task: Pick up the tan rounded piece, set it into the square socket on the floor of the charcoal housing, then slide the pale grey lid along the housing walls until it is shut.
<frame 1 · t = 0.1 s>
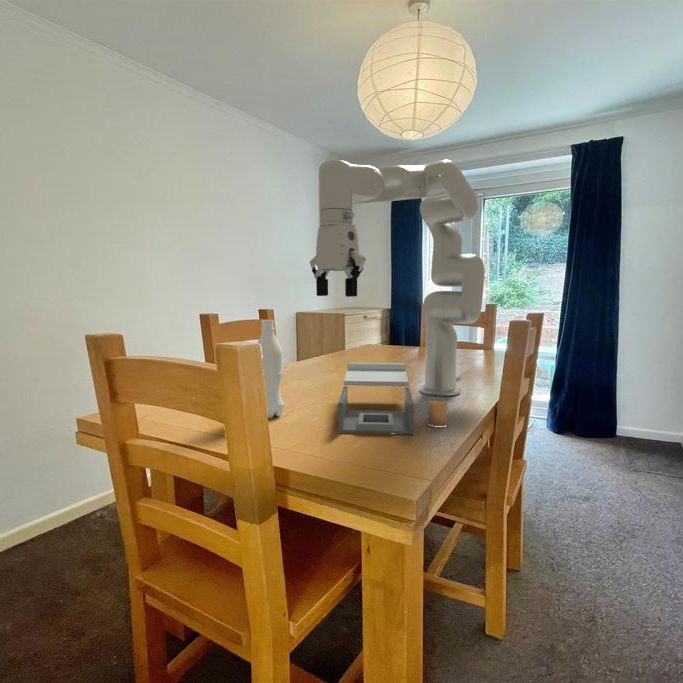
hand: (336, 296, 95), 31 cm above the table, tool pointing down, fingers open, 9 cm apart
water bottle: (270, 416, 107), on the table
tan rounded piece: (437, 424, 99), on the table
housing: (375, 422, 101), on the table
lid: (376, 373, 114), point 9 cm above the table, slide at 15.0 cm
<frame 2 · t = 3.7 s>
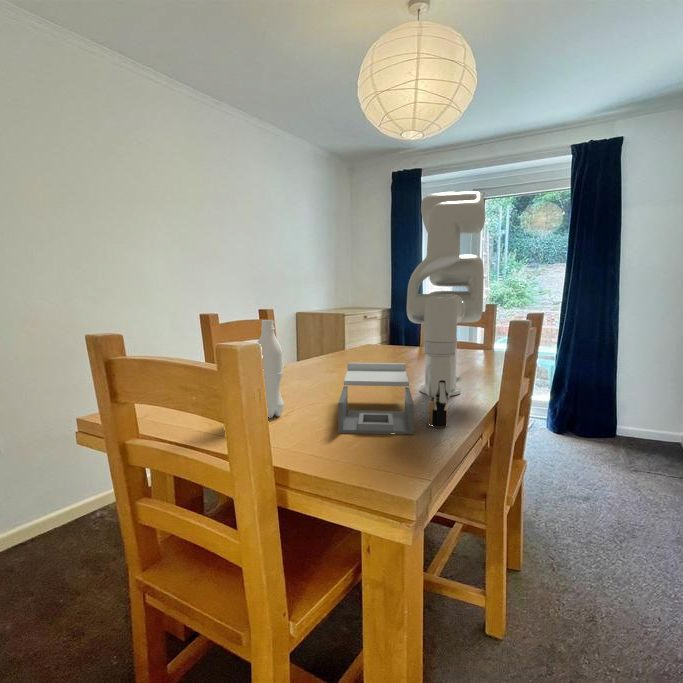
hand: (437, 421, 99), 1 cm above the table, tool pointing down, fingers closed on tan rounded piece, 4 cm apart
tan rounded piece: (437, 424, 99), on the table, touching gripper
everything else where it was.
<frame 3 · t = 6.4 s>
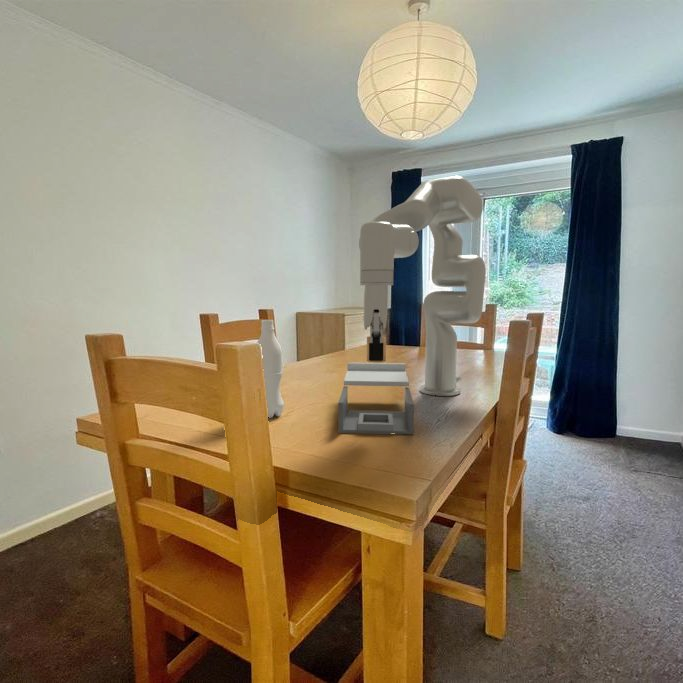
hand: (376, 357, 95), 17 cm above the table, tool pointing down, fingers closed on tan rounded piece, 4 cm apart
tan rounded piece: (376, 360, 95), point 16 cm above the table, touching gripper
everything else where it was.
when the fingers open (4 cm above the table, at t = 9.1 s): tan rounded piece drops 2 cm, resting on housing.
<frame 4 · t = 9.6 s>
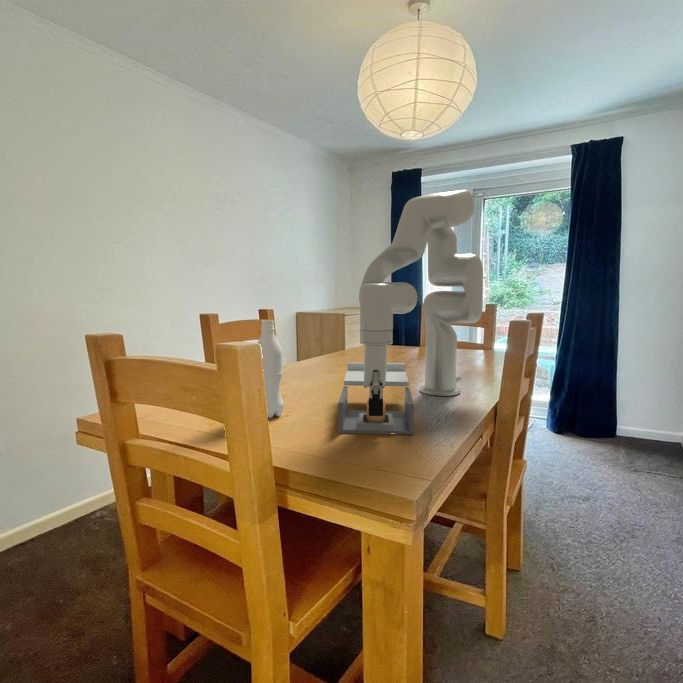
hand: (375, 409, 97), 5 cm above the table, tool pointing down, fingers open, 9 cm apart
tan rounded piece: (375, 424, 97), point 1 cm above the table, touching housing
everything else where it was.
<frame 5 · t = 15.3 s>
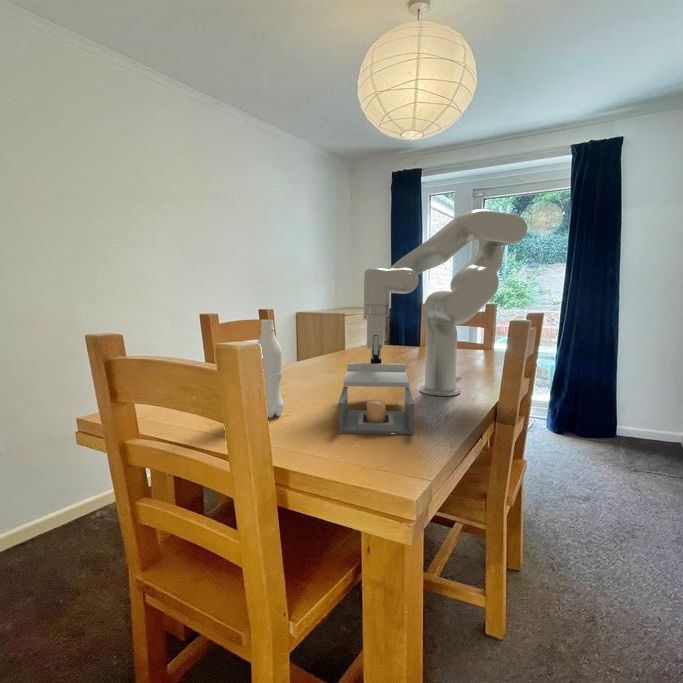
hand: (375, 371, 123), 8 cm above the table, tool pointing down, fingers closed
lid: (376, 374, 114), point 9 cm above the table, slide at 14.2 cm, touching gripper
everything else where it was.
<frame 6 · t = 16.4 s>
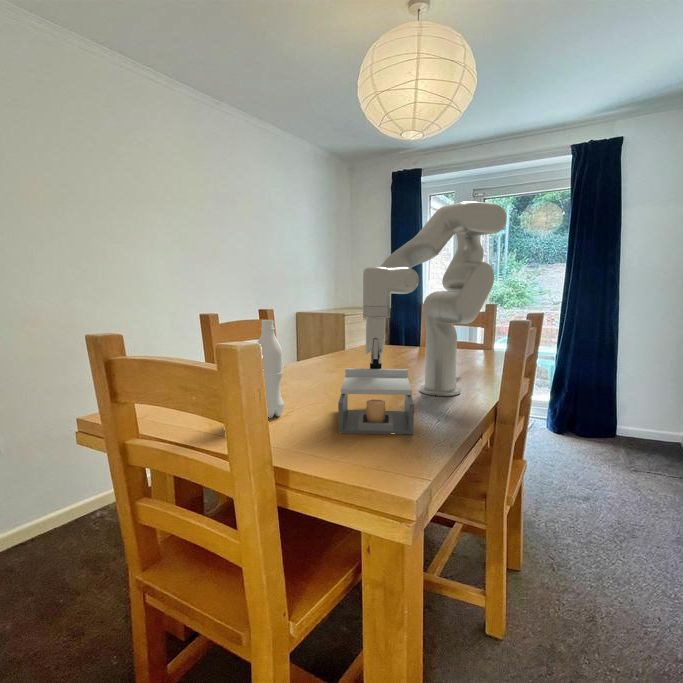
hand: (375, 377, 116), 8 cm above the table, tool pointing down, fingers closed
lid: (376, 380, 106), point 9 cm above the table, slide at 6.5 cm, touching gripper
everything else where it was.
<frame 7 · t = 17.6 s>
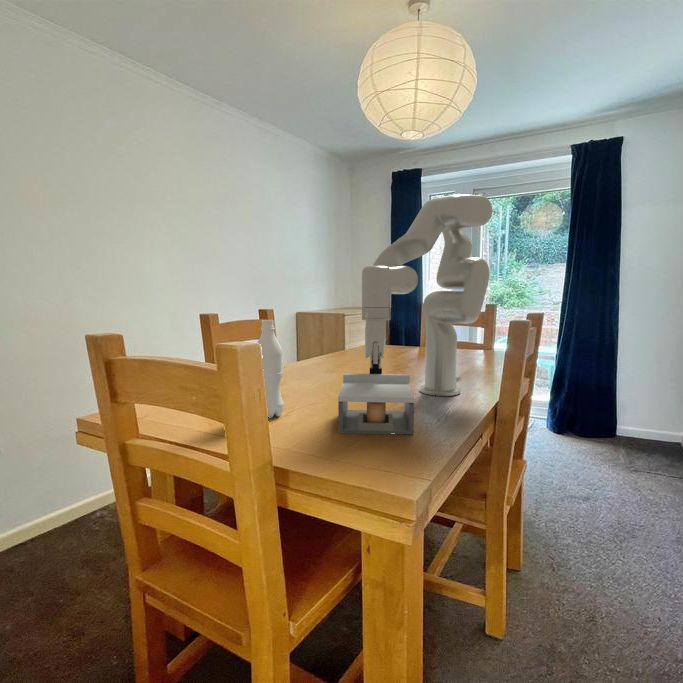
hand: (375, 382, 109), 8 cm above the table, tool pointing down, fingers closed
lid: (376, 387, 99), point 9 cm above the table, slide at -0.1 cm, touching gripper
everything else where it was.
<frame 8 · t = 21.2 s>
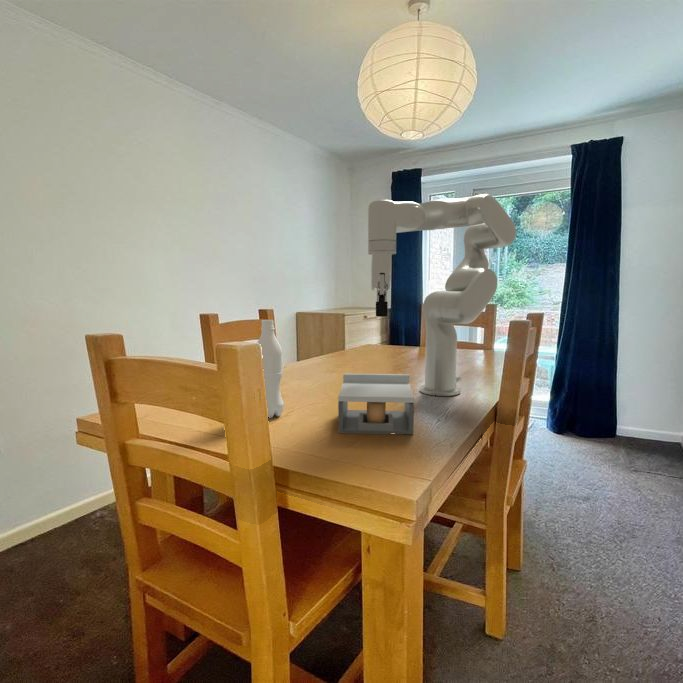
hand: (381, 316, 113), 25 cm above the table, tool pointing down, fingers closed
lid: (376, 386, 99), point 9 cm above the table, slide at 0.0 cm
everything else where it was.
at the end: tan rounded piece 0.1 cm from the target spot on the housing, point 0.8 cm above the housing's base; tan rounded piece tilted 1°; lid slide at 0.0 cm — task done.
